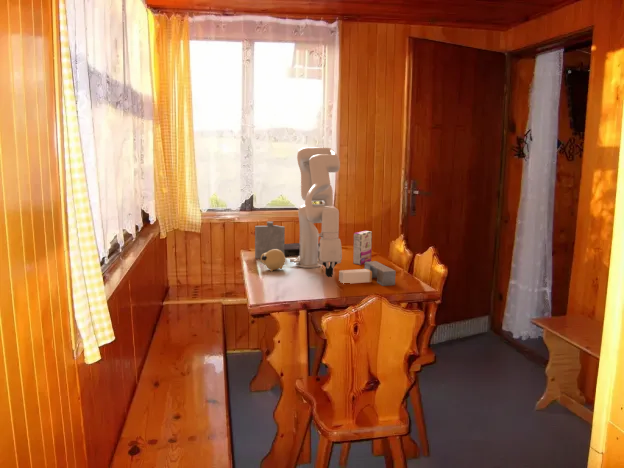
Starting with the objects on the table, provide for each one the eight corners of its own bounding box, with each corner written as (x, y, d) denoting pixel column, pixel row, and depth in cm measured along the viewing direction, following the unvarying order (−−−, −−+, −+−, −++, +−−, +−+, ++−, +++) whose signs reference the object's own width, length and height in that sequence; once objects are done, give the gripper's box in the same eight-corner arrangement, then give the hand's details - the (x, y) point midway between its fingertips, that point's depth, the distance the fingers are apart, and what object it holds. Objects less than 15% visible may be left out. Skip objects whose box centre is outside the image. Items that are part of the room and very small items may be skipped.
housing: (382, 285, 225) (383, 271, 224) (364, 275, 244) (364, 261, 243) (395, 285, 227) (395, 270, 226) (375, 274, 246) (376, 261, 245)
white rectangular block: (342, 284, 227) (343, 273, 226) (338, 281, 232) (339, 270, 231) (371, 282, 232) (371, 271, 231) (367, 279, 236) (367, 268, 235)
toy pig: (262, 267, 255) (262, 246, 253) (286, 268, 255) (286, 247, 253) (259, 272, 245) (259, 250, 243) (284, 272, 245) (284, 251, 243)
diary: (274, 251, 298) (274, 243, 297) (315, 249, 305) (315, 241, 304) (281, 257, 280) (281, 248, 279) (325, 255, 287) (325, 247, 286)
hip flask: (254, 258, 275) (254, 222, 271) (255, 256, 279) (255, 220, 275) (284, 259, 275) (284, 222, 271) (284, 257, 279) (284, 221, 275)
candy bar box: (363, 260, 276) (364, 230, 273) (371, 261, 273) (372, 231, 271) (352, 263, 267) (353, 232, 265) (360, 265, 265) (361, 234, 262)
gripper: (316, 237, 218) (316, 279, 221) (348, 236, 223) (347, 277, 225) (311, 235, 225) (310, 275, 228) (342, 234, 230) (341, 273, 232)
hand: (329, 276), depth 226 cm, fingers closed
